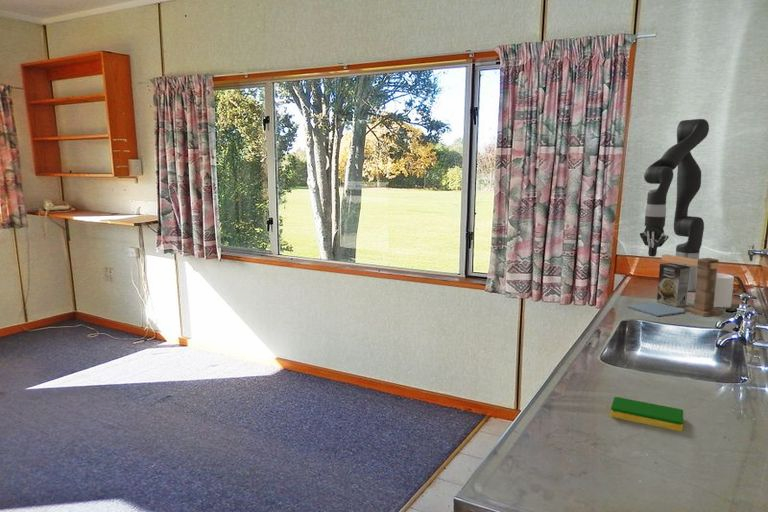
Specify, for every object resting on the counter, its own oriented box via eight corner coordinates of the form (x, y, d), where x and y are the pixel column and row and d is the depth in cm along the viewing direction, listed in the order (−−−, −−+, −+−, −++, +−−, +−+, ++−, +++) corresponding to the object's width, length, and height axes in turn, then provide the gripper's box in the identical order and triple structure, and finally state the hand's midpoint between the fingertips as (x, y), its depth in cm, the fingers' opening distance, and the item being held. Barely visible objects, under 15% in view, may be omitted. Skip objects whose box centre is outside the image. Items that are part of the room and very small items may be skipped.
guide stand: (702, 308, 203) (707, 256, 199) (722, 313, 195) (727, 260, 192) (684, 311, 199) (689, 258, 196) (703, 316, 192) (708, 261, 188)
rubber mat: (654, 304, 209) (654, 302, 209) (685, 312, 197) (685, 311, 196) (627, 307, 205) (627, 306, 204) (657, 316, 192) (657, 315, 192)
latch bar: (666, 259, 212) (667, 254, 212) (717, 268, 192) (718, 263, 192) (661, 259, 211) (661, 254, 211) (712, 268, 191) (712, 263, 191)
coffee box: (655, 302, 213) (658, 263, 210) (666, 300, 216) (669, 262, 213) (676, 307, 205) (679, 267, 202) (687, 305, 207) (690, 266, 205)
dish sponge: (613, 405, 120) (614, 395, 120) (682, 419, 114) (683, 409, 113) (610, 418, 114) (610, 407, 114) (682, 433, 108) (683, 422, 107)
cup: (721, 301, 214) (724, 272, 212) (737, 308, 203) (740, 278, 201) (691, 300, 215) (694, 272, 213) (705, 307, 204) (708, 278, 202)
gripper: (676, 216, 210) (672, 258, 213) (649, 213, 222) (645, 253, 225) (662, 216, 207) (658, 259, 210) (635, 214, 219) (632, 254, 222)
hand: (652, 256), depth 217 cm, fingers closed
